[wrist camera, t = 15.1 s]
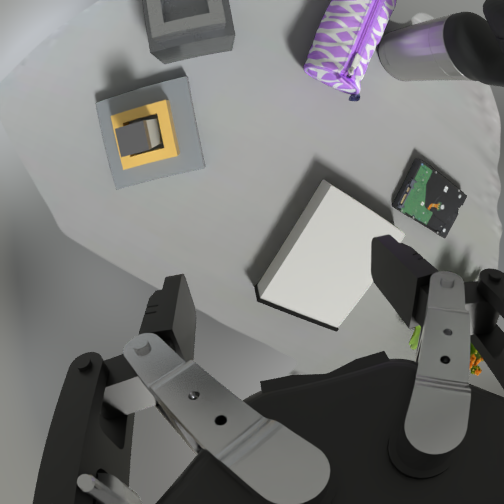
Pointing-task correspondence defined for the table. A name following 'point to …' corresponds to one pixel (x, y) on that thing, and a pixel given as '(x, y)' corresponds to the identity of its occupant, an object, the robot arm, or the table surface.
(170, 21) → the grey open sleeve
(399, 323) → the table surface
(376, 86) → the table surface
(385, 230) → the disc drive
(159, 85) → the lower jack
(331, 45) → the pencil case
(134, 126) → the plug
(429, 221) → the disk drive
